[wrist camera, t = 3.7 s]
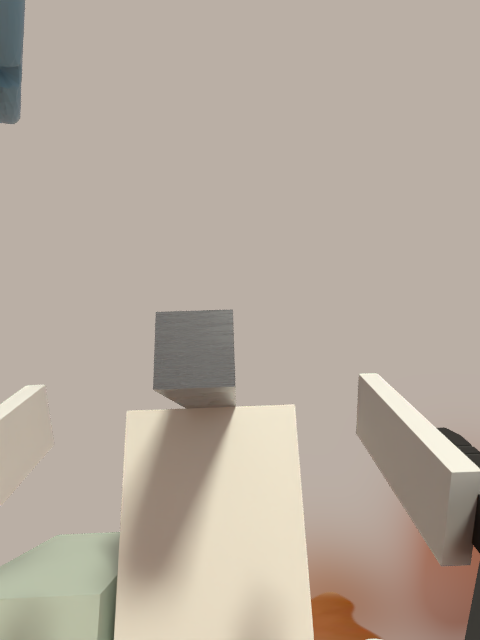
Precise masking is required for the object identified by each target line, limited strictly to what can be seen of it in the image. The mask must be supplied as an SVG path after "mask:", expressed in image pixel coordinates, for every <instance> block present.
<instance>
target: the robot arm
mask: <svg viewBox="0 0 480 640" xmlns="http://www.w3.org/2000/svg"><path fill="white" fill-rule="evenodd" d="M24 10H25V0H0V123H6V124H15V123H17V122H18V121H19V119H20V108H21V107H20V106H21V80H22V54H23V35H24V12H25V11H24ZM356 428H357V429H356V434H357V435H358V437H359V438H360V440H361V442H362V443H363V445H364V446H365V448H366V449H367V451H368V452H369V454H370V456H371V457H372V459H373V460H374V462H375V463H376V465H377V467H378V468H379V470H380V471H381V473H382V474H383V476H384V477H385V479H386V481H387V482H388V484H389V485H390V486H391V488H392V490H393V492H394V493H395V495H396V496H397V498H398V499H399V501H400V503H401V504H402V506H403V507H404V509H405V510H406V512H407V513H408V515H409V517H410V518H411V520H412V521H413V523H414V524H415V526H416V528H417V529H418V531H419V532H420V534H421V535H422V537H423V538H424V540H425V542H426V543H427V545H428V546H429V548H430V549H431V551H432V553H433V554H434V556H435V557H436V559H437V560H438V562H439V563H440V565H441V566H460V565H470V564H471V557H472V549H473V545H474V547H475V548H476V549H477V550H478V552H479V553H480V452H479V451H478V450H477V449H476V448H475V447H472V446H471V444H470V443H469V442H468V441H466V440H465V439H464V438H463V437H462V436H461V435H459V434H457V433H455V432H453V431H451V430H449V429H447V428H435V427H434V426H433V425H432V424H431V423H430V422H429V421H428V420H427V419H426V418H425V417H423V415H421V414H420V413H419V412H418V411H417V410H416V409H415V408H414V407H413V406H412V405H411V404H410V403H408V402H407V401H406V400H405V399H404V398H403V397H402V396H401V395H400V394H399V393H398V392H397V391H396V390H395V389H393V388H392V387H391V386H390V385H389V384H388V383H387V382H386V381H385V380H384V379H383V378H382V377H380V376H379V375H378V374H377V373H371V374H359V385H358V406H357V427H356ZM53 445H54V438H53V431H52V425H51V418H50V412H49V406H48V399H47V393H46V386H45V385H27V386H25V387H24V388H22V389H21V390H20V391H18V392H17V393H15V394H14V395H13V396H11V397H10V398H8V399H7V400H5V401H4V402H3V403H1V404H0V507H1V506H2V505H3V503H4V502H5V501H6V500H7V499H8V498H9V496H10V495H11V494H12V493H13V492H14V491H15V489H16V488H17V487H18V486H19V485H20V484H21V483H22V481H23V480H24V479H25V478H26V477H27V476H28V474H29V473H30V472H31V471H32V470H33V469H34V467H35V466H36V465H37V464H38V463H39V462H40V460H41V459H42V458H43V457H44V456H45V455H46V454H47V453H48V451H49V450H50V449H51V448H52V447H53ZM465 640H480V563H479V569H478V573H477V578H476V584H475V589H474V595H473V600H472V604H471V610H470V615H469V620H468V625H467V630H466V635H465Z"/></svg>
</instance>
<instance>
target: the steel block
mask: <svg viewBox="0 0 480 640" xmlns="http://www.w3.org/2000/svg"><path fill="white" fill-rule="evenodd" d="M153 383H154V384H153V390H154V391H156V392H158V393H160V394H162V395H163V396H165V397H167V398H169V399H170V400H172V401H174V402H176V403H178V404H179V405H181V406H183V407H185V408H186V409H190V408H217V407H236V398H235V397H236V396H235V363H234V333H233V310H209V311H208V310H207V311H175V312H156V323H155V355H154V381H153Z"/></svg>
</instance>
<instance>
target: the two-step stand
mask: <svg viewBox="0 0 480 640" xmlns="http://www.w3.org/2000/svg"><path fill="white" fill-rule="evenodd" d="M0 640H314V635H313V623H312V610H311V598H310V586H309V573H308V561H307V549H306V536H305V524H304V512H303V500H302V488H301V475H300V463H299V450H298V439H297V426H296V414H295V405H271V406H247V407H246V406H243V407H217V408H190V409H166V410H165V409H163V410H139V411H138V410H137V411H127V415H126V433H125V451H124V470H123V487H122V505H121V523H120V532H112V533H89V534H66V535H57V536H55V537H53V538H51V539H50V540H48V541H46V542H44V543H42V544H40V545H39V546H37V547H35V548H33V549H32V550H30V551H28V552H26V553H24V554H22V555H20V556H19V557H17V558H15V559H13V560H11V561H10V562H8V563H6V564H4V565H2V566H0Z"/></svg>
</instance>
